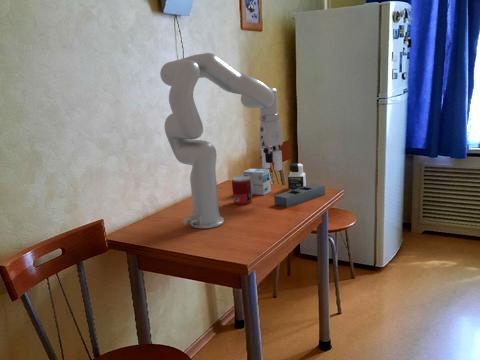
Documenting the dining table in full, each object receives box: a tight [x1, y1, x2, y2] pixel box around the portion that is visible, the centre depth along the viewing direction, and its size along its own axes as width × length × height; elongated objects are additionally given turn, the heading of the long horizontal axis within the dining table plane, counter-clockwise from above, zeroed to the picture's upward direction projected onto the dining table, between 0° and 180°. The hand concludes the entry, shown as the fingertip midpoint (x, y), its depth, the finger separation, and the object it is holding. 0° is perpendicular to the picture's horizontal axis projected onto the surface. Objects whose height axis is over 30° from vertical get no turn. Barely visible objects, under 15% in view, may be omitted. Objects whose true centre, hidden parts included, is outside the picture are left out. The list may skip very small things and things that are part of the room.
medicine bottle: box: [287, 162, 307, 191], centre depth 203 cm, size 7×7×12 cm
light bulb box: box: [242, 168, 272, 196], centre depth 202 cm, size 11×7×11 cm, turn 58°
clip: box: [260, 149, 283, 171], centre depth 186 cm, size 9×3×8 cm, turn 42°
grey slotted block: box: [273, 183, 326, 209], centre depth 187 cm, size 24×7×4 cm, turn 130°
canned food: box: [231, 175, 253, 206], centre depth 188 cm, size 8×8×11 cm
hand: (271, 161), depth 186 cm, fingers closed on clip, 3 cm apart
